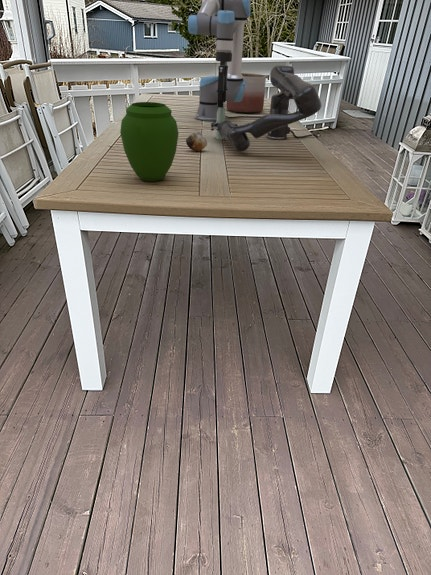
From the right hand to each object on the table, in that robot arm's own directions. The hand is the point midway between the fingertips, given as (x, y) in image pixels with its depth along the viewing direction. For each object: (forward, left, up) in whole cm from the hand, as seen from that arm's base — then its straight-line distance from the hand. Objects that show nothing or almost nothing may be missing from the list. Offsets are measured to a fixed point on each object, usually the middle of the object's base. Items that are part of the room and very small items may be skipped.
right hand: (219, 123), depth 205 cm
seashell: (+17, +26, -7) cm, 32 cm away
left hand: (0, +3, +9) cm, 9 cm away
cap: (0, +3, +10) cm, 10 cm away
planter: (-40, -78, -7) cm, 88 cm away
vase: (+42, +64, -7) cm, 77 cm away
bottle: (0, +3, -7) cm, 7 cm away
